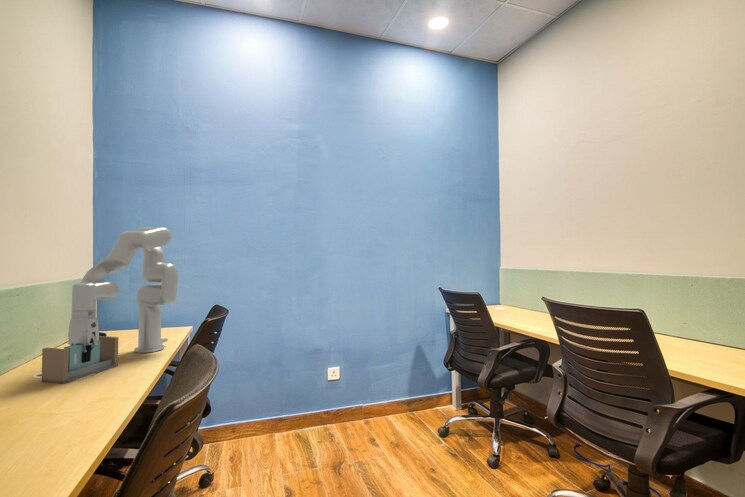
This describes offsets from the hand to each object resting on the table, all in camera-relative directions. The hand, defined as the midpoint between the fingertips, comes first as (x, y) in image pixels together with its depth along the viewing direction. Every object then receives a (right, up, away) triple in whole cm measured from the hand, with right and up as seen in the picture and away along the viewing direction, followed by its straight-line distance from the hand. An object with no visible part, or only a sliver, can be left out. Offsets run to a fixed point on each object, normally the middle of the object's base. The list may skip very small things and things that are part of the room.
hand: (82, 361), depth 143 cm
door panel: (0, -2, 0) cm, 2 cm away
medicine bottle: (-8, -5, +18) cm, 20 cm away
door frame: (0, -5, 0) cm, 5 cm away
